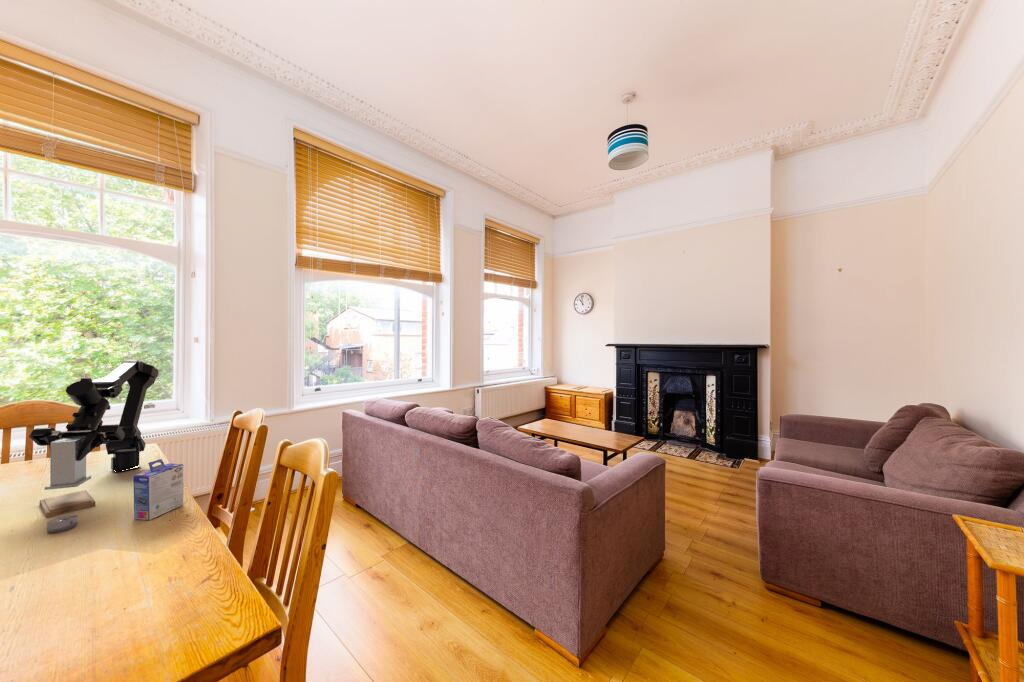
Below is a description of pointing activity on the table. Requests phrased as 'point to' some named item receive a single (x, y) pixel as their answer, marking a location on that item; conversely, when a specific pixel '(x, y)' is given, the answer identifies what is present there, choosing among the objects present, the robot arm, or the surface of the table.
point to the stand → (66, 503)
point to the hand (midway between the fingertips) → (65, 461)
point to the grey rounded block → (61, 524)
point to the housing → (67, 463)
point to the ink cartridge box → (158, 490)
